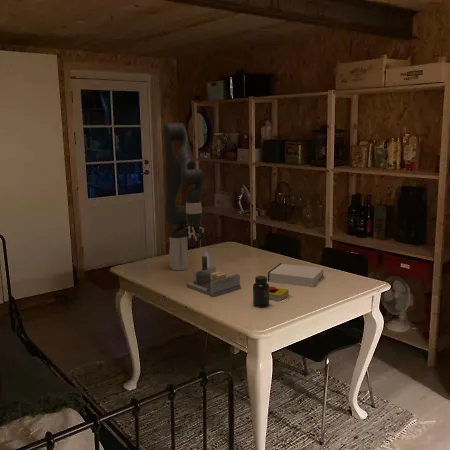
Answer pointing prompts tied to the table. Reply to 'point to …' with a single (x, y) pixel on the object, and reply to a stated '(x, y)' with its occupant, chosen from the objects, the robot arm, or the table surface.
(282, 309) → the table surface
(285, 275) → the disc drive
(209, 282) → the press
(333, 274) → the table surface
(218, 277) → the maple block
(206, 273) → the jaw
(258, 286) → the supplement bottle
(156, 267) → the table surface
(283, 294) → the emergency button
